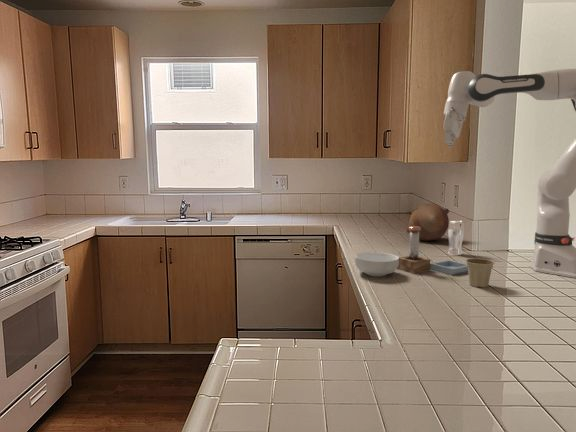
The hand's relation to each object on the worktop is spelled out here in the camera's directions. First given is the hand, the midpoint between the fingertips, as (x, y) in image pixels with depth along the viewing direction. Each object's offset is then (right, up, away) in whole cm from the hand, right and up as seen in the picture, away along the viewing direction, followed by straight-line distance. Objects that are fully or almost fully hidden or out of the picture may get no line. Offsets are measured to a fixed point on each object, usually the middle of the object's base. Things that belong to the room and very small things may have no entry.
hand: (448, 145), depth 193 cm
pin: (-16, -50, -5) cm, 53 cm away
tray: (-2, -51, -7) cm, 51 cm away
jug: (+8, -41, +61) cm, 74 cm away
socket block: (-16, -50, -5) cm, 53 cm away
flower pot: (+1, -54, -27) cm, 60 cm away
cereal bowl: (-32, -52, -11) cm, 61 cm away
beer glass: (+11, -47, +23) cm, 53 cm away
